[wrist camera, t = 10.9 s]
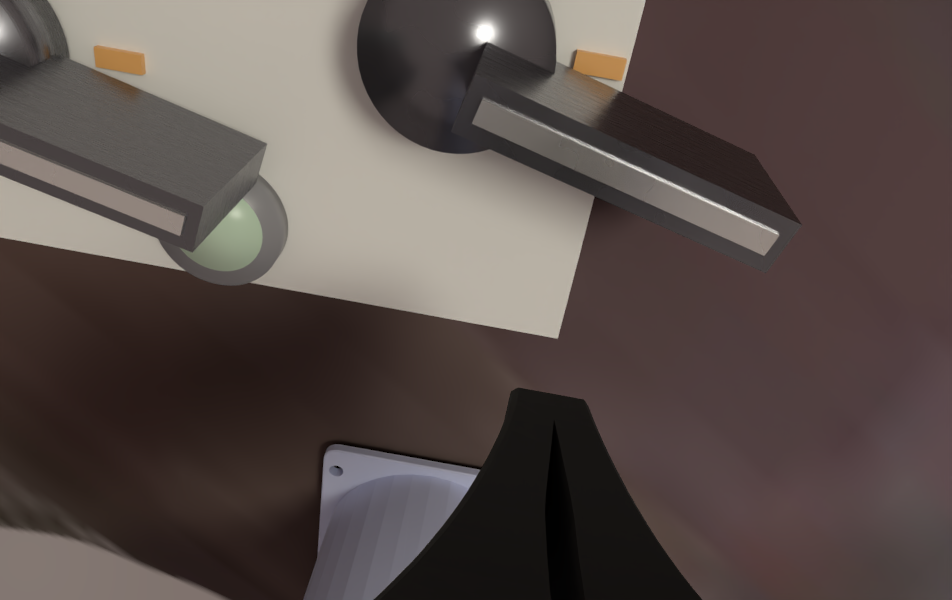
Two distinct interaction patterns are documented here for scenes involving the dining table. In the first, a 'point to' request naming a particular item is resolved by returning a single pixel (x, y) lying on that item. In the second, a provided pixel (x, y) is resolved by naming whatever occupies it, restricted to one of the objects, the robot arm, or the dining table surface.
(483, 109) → the knob
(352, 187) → the base
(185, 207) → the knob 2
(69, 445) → the dining table surface
